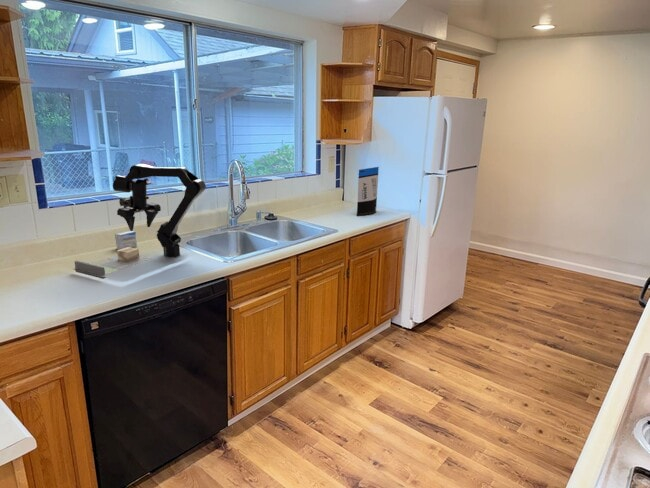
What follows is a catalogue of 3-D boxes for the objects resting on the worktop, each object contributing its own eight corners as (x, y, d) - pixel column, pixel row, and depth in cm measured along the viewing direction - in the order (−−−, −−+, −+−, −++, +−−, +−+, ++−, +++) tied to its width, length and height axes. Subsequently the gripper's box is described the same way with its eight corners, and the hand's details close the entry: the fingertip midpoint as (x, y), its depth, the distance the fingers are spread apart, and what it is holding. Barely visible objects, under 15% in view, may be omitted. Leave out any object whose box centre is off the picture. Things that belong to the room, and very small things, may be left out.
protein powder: (382, 211, 303) (384, 167, 295) (362, 217, 284) (365, 170, 276) (370, 209, 309) (372, 166, 300) (350, 215, 290) (352, 169, 282)
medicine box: (122, 253, 202) (120, 235, 199) (116, 251, 204) (114, 233, 201) (137, 249, 208) (136, 231, 206) (131, 247, 210) (129, 230, 208)
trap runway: (151, 261, 192) (150, 251, 190) (103, 278, 171) (101, 267, 170) (125, 255, 198) (124, 246, 197) (75, 271, 178) (74, 261, 176)
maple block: (139, 257, 192) (138, 249, 190) (127, 261, 186) (127, 252, 185) (129, 255, 194) (128, 246, 193) (118, 259, 189) (116, 250, 188)
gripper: (143, 188, 201) (143, 221, 206) (107, 193, 185) (108, 229, 189) (161, 192, 197) (161, 226, 201) (126, 197, 180) (127, 234, 185)
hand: (140, 228), depth 194 cm, fingers open, 9 cm apart
